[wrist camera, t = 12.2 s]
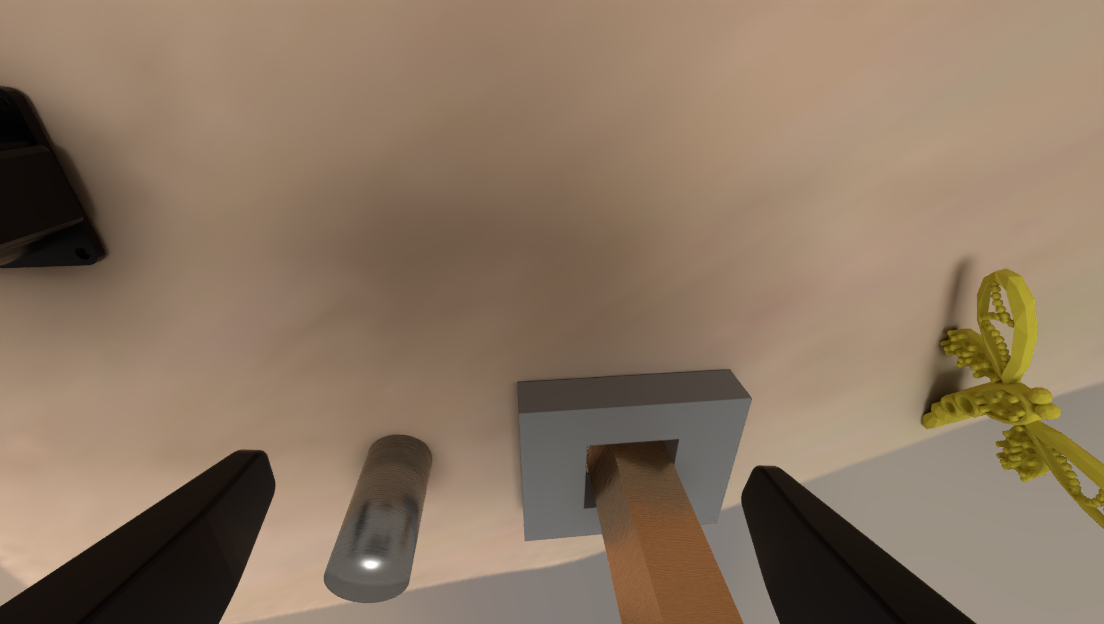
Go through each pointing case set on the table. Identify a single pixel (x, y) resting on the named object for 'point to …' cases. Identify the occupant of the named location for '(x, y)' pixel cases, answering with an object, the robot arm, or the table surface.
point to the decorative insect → (1014, 393)
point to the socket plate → (624, 440)
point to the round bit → (381, 523)
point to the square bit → (655, 539)
